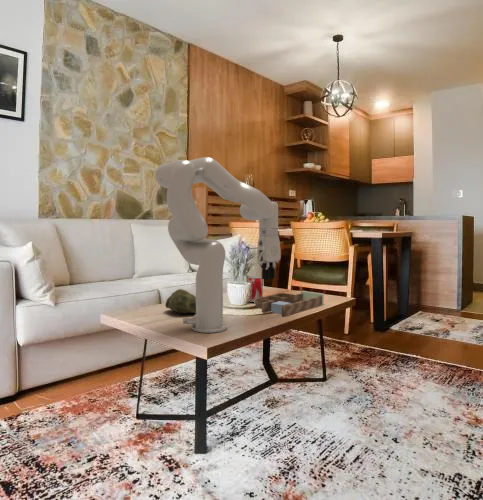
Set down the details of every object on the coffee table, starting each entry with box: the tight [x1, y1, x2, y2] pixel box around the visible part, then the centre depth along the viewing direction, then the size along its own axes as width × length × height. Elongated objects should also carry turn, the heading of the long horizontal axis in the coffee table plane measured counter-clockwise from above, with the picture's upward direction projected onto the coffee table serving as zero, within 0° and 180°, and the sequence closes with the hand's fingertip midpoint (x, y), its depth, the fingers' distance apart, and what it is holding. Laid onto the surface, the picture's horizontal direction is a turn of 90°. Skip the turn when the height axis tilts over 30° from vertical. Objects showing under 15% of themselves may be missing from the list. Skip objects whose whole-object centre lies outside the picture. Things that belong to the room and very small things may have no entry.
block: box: [270, 301, 292, 315], centre depth 166 cm, size 6×6×4 cm
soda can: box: [247, 275, 264, 302], centre depth 187 cm, size 7×7×12 cm
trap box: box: [254, 292, 323, 317], centre depth 176 cm, size 30×20×4 cm, turn 139°
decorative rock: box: [165, 288, 196, 315], centre depth 165 cm, size 15×16×10 cm
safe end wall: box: [300, 290, 325, 306], centre depth 185 cm, size 1×11×5 cm, turn 49°
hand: (268, 278), depth 159 cm, fingers closed
